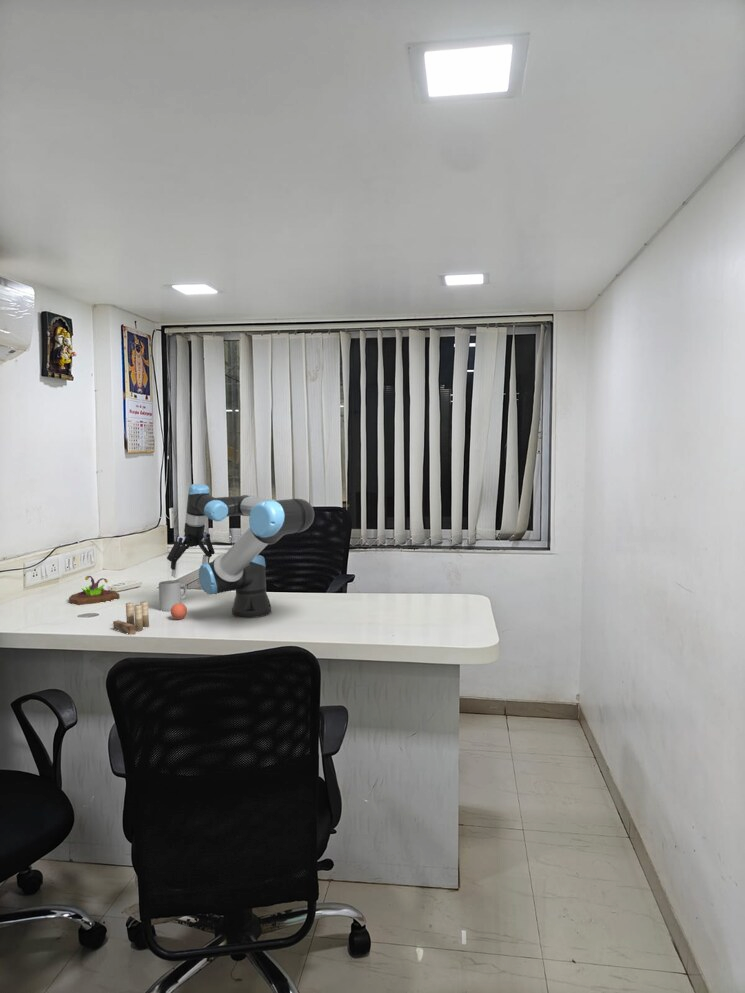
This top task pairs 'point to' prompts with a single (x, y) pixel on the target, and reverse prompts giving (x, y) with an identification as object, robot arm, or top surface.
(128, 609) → the pin
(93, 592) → the plant
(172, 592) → the mug
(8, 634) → the top surface
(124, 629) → the brown long block
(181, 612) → the ball
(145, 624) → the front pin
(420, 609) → the top surface
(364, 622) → the top surface
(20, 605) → the top surface
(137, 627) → the pin
